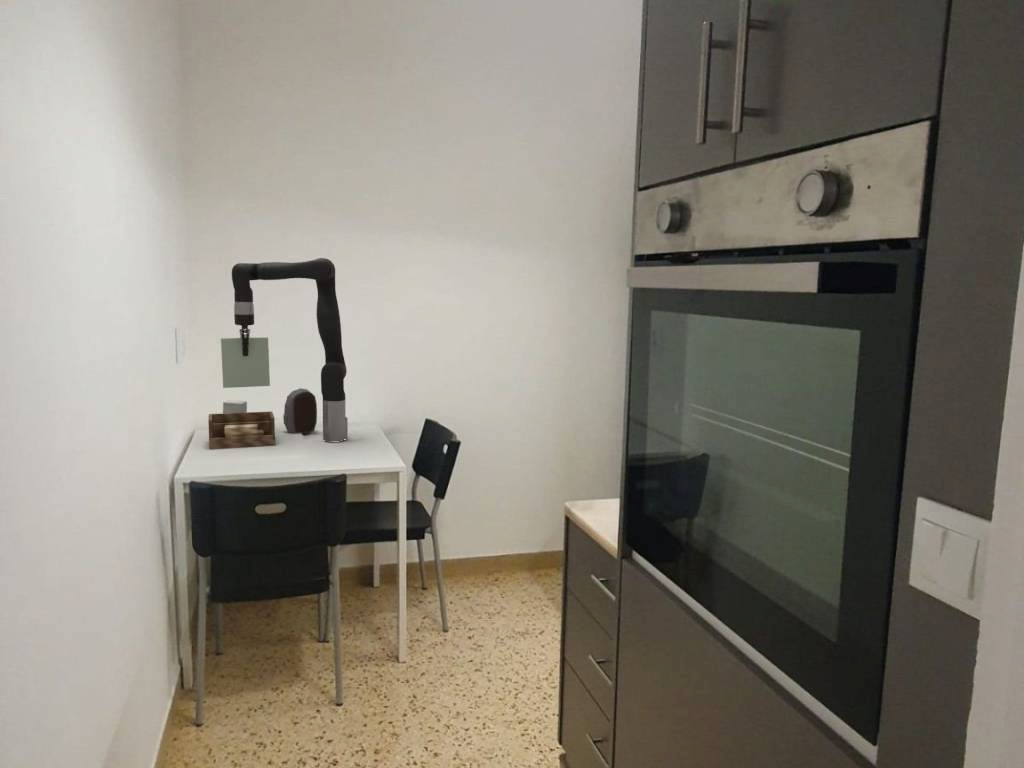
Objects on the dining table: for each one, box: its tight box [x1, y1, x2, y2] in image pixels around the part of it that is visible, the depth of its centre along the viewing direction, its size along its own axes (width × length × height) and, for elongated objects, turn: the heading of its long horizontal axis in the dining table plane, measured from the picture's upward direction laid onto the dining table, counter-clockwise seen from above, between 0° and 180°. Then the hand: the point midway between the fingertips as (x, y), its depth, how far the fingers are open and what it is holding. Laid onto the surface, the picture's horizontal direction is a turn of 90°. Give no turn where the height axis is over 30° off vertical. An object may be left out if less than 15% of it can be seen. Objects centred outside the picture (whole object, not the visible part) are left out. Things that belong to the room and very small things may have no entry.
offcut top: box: [224, 424, 258, 434], centre depth 285 cm, size 12×5×2 cm, turn 109°
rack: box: [207, 410, 276, 450], centre depth 288 cm, size 24×14×12 cm, turn 112°
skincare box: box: [222, 400, 248, 413], centre depth 306 cm, size 8×6×15 cm
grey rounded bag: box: [282, 387, 318, 435], centre depth 313 cm, size 15×8×20 cm, turn 136°
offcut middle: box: [225, 430, 264, 438], centre depth 286 cm, size 14×5×2 cm, turn 115°
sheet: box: [220, 336, 271, 389], centre depth 297 cm, size 18×2×20 cm, turn 112°
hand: (245, 355), depth 297 cm, fingers closed on sheet, 2 cm apart
